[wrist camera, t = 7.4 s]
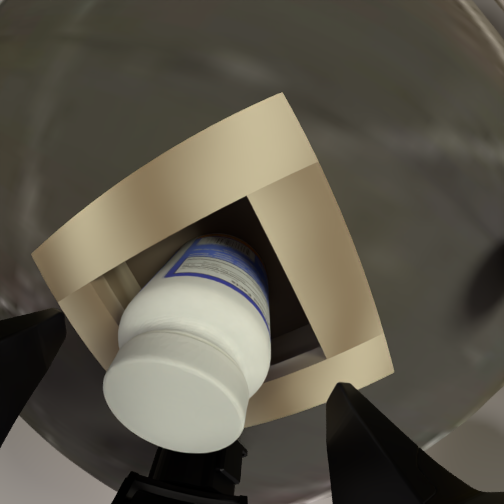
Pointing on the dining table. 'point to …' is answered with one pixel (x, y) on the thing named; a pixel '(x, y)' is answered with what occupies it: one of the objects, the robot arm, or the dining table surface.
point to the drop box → (245, 228)
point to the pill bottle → (193, 347)
